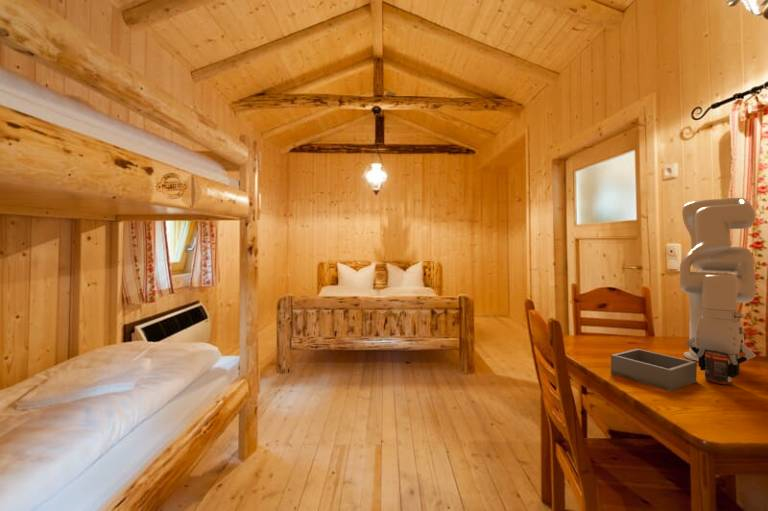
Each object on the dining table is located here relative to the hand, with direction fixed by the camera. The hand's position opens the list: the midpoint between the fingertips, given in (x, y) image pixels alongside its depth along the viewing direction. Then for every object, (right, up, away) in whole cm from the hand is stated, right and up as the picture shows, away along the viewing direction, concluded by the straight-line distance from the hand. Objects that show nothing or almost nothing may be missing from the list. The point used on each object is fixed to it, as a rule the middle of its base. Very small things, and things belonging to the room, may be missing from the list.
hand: (718, 372), depth 101 cm
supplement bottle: (0, -3, 0) cm, 3 cm away
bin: (-17, -3, +3) cm, 18 cm away
